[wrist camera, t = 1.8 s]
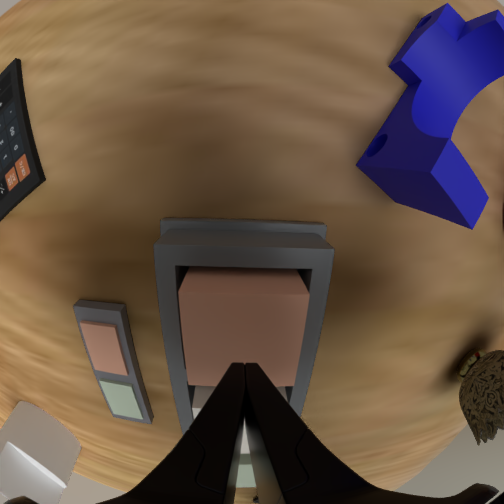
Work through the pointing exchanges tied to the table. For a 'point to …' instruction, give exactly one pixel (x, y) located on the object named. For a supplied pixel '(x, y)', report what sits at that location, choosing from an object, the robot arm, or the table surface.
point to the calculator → (16, 142)
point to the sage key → (245, 472)
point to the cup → (482, 392)
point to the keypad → (246, 256)
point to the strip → (113, 358)
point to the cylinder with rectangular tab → (35, 455)
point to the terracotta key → (242, 321)
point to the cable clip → (436, 115)
